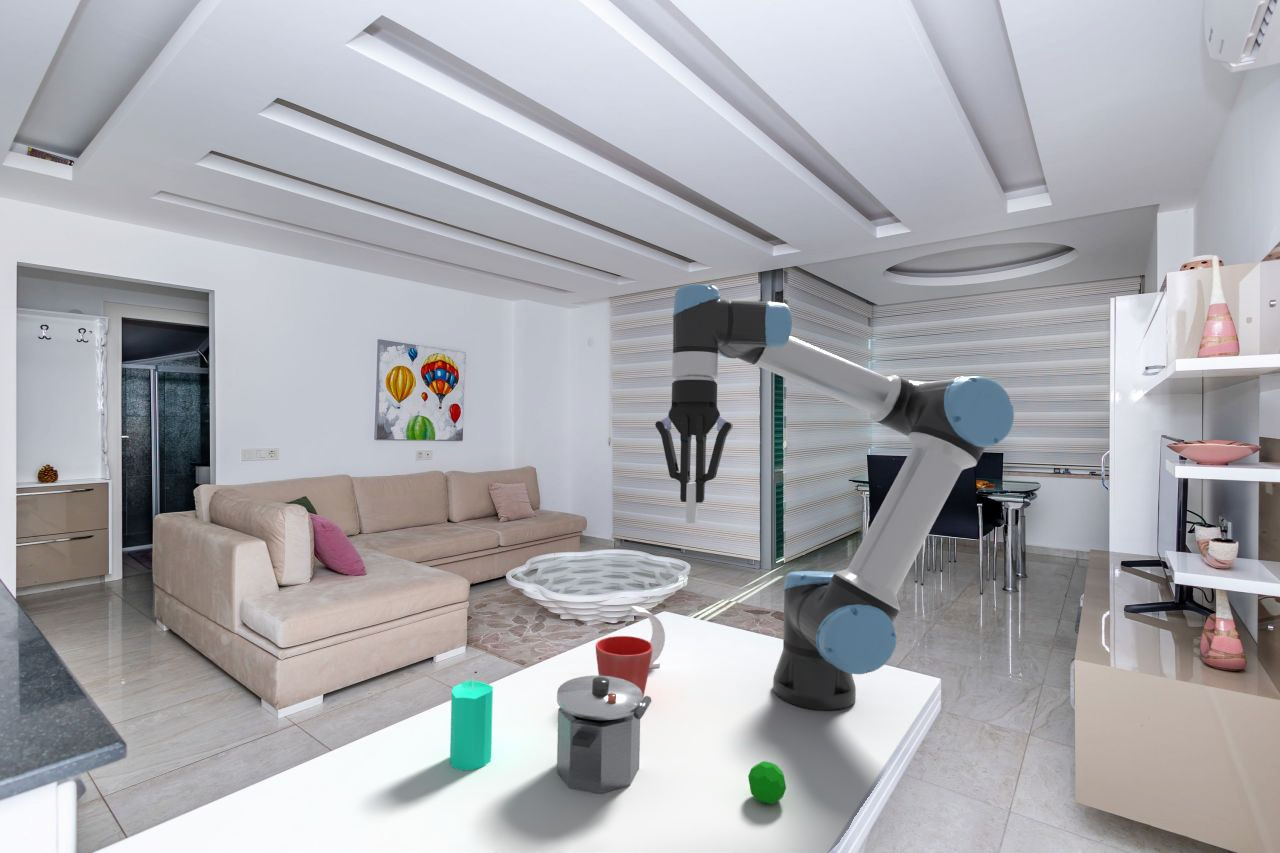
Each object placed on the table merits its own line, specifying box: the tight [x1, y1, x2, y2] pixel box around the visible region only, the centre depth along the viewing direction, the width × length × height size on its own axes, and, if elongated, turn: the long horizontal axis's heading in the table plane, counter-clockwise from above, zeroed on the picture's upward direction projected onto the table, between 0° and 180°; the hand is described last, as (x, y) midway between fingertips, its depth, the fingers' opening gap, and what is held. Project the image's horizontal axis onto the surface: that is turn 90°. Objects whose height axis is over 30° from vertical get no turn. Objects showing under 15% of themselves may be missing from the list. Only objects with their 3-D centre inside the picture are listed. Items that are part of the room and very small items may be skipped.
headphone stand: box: [630, 605, 666, 670], centre depth 132 cm, size 5×6×12 cm
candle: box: [449, 677, 494, 771], centre depth 93 cm, size 6×6×12 cm
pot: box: [556, 706, 641, 795], centre depth 91 cm, size 11×15×9 cm
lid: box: [556, 675, 652, 720], centre depth 91 cm, size 13×12×3 cm
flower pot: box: [595, 635, 653, 698], centre depth 116 cm, size 11×11×10 cm
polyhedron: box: [747, 760, 787, 805], centre depth 84 cm, size 5×5×5 cm
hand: (691, 522), depth 104 cm, fingers closed
